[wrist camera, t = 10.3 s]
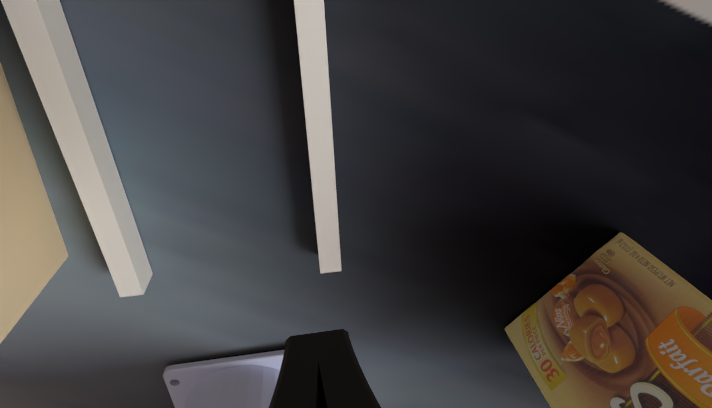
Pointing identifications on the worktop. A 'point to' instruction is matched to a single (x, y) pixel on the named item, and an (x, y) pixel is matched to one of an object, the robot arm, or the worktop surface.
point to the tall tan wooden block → (22, 220)
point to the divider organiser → (93, 155)
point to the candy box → (619, 335)
